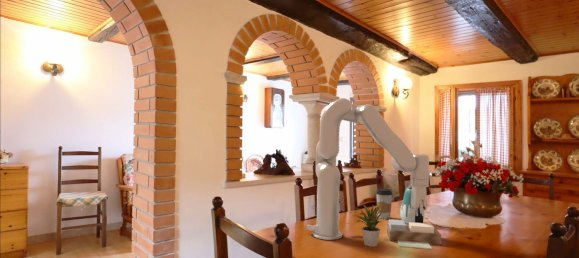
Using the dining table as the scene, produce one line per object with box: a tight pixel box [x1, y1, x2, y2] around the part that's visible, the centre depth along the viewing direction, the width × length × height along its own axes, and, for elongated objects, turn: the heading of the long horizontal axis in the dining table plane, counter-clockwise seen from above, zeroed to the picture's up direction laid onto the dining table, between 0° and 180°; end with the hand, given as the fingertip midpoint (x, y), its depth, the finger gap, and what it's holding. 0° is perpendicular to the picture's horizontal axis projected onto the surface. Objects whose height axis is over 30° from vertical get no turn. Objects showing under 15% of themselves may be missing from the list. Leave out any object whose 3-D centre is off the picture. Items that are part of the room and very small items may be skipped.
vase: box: [399, 186, 425, 225], centre depth 173 cm, size 12×12×18 cm
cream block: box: [408, 222, 434, 233], centre depth 145 cm, size 9×6×2 cm, turn 79°
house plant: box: [352, 204, 384, 247], centre depth 140 cm, size 14×14×16 cm
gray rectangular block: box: [388, 219, 407, 231], centre depth 149 cm, size 9×6×2 cm, turn 169°
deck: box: [386, 223, 442, 246], centre depth 147 cm, size 20×12×4 cm, turn 79°
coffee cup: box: [375, 188, 393, 220], centre depth 183 cm, size 8×8×15 cm
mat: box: [396, 241, 433, 250], centre depth 138 cm, size 12×7×1 cm, turn 79°
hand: (419, 224), depth 150 cm, fingers closed
